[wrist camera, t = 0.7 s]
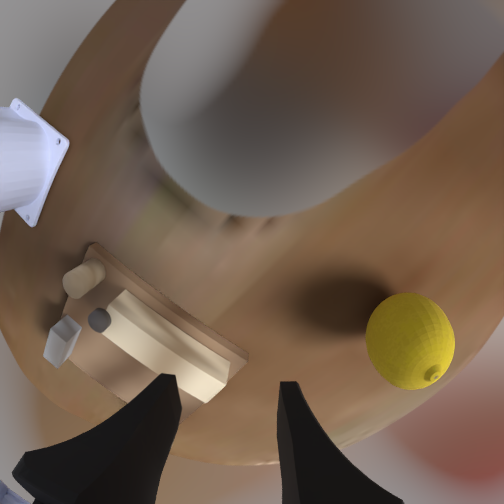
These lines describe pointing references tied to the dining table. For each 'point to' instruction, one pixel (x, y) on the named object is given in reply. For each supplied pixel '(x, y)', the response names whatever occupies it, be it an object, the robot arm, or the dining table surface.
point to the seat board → (108, 353)
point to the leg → (161, 345)
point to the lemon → (410, 341)
